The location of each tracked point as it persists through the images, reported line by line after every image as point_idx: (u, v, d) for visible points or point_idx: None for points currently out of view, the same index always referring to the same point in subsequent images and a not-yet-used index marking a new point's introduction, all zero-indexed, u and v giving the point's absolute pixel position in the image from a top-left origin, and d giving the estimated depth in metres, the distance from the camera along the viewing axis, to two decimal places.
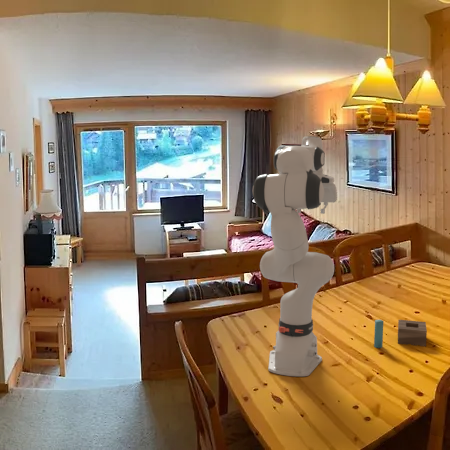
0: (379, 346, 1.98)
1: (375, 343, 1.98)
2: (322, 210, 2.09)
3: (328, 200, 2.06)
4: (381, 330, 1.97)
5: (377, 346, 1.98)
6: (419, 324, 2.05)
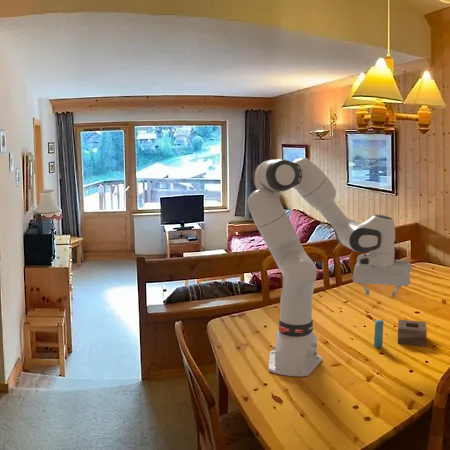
0: (379, 346, 1.98)
1: (375, 343, 1.98)
2: None
3: None
4: (381, 330, 1.97)
5: (377, 346, 1.98)
6: (419, 324, 2.05)
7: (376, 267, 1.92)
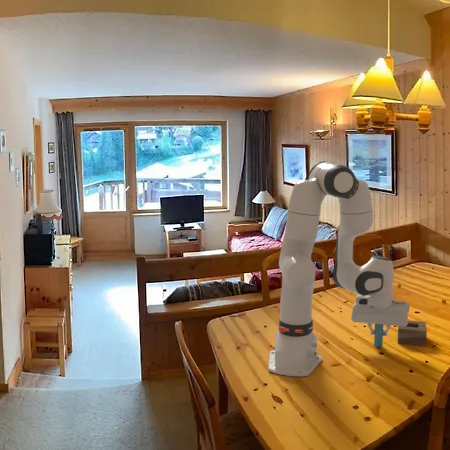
0: (379, 346, 1.98)
1: (375, 343, 1.98)
2: None
3: None
4: (382, 330, 1.97)
5: (377, 346, 1.98)
6: (419, 324, 2.05)
7: (375, 307, 1.94)
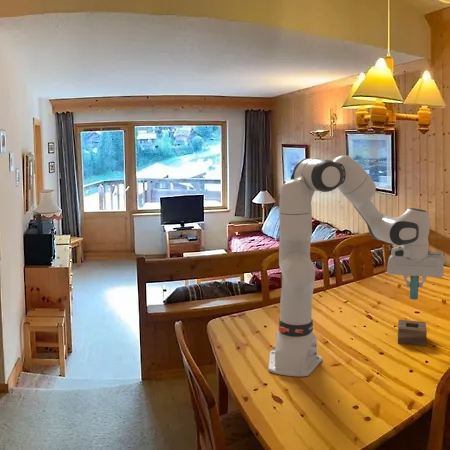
0: (415, 297, 2.00)
1: (411, 295, 2.01)
2: None
3: None
4: (417, 282, 2.00)
5: (413, 297, 2.01)
6: (419, 324, 2.05)
7: (411, 259, 1.97)
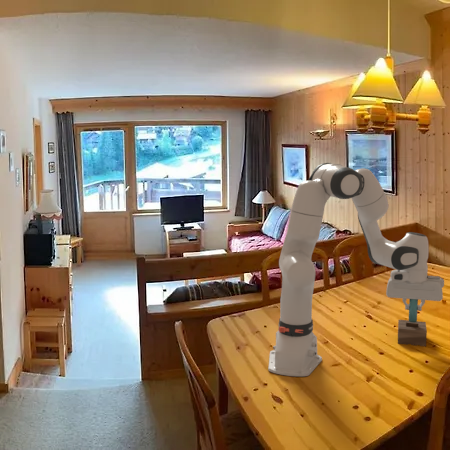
0: (414, 321, 2.02)
1: (410, 318, 2.03)
2: None
3: None
4: (416, 305, 2.01)
5: (412, 321, 2.02)
6: (419, 324, 2.05)
7: (410, 283, 1.99)
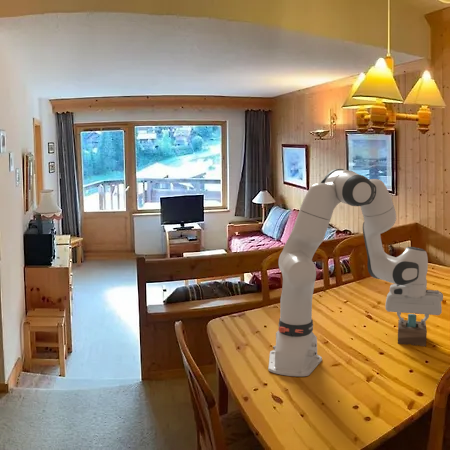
0: None
1: None
2: None
3: None
4: (415, 324, 2.02)
5: None
6: (419, 324, 2.05)
7: (409, 297, 2.00)
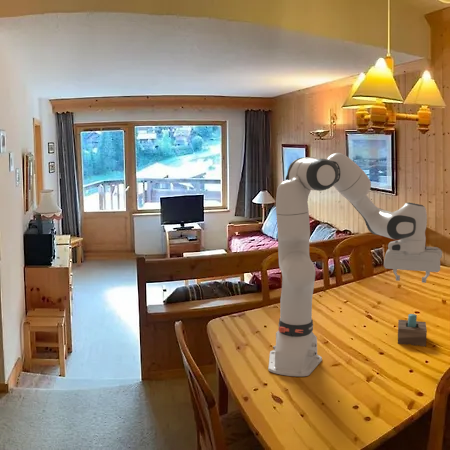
0: None
1: None
2: None
3: None
4: (415, 324, 2.02)
5: None
6: (419, 324, 2.05)
7: (407, 253, 1.98)
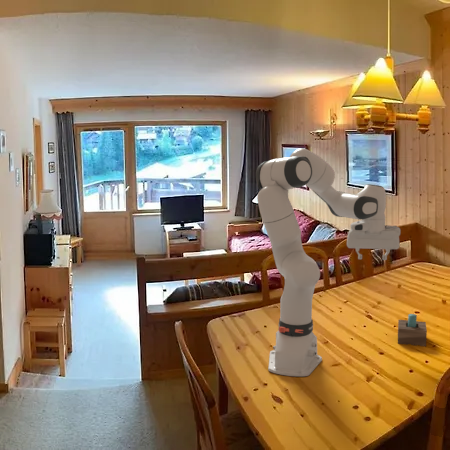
0: None
1: None
2: None
3: None
4: (415, 324, 2.02)
5: None
6: (419, 324, 2.05)
7: (369, 232, 2.08)
